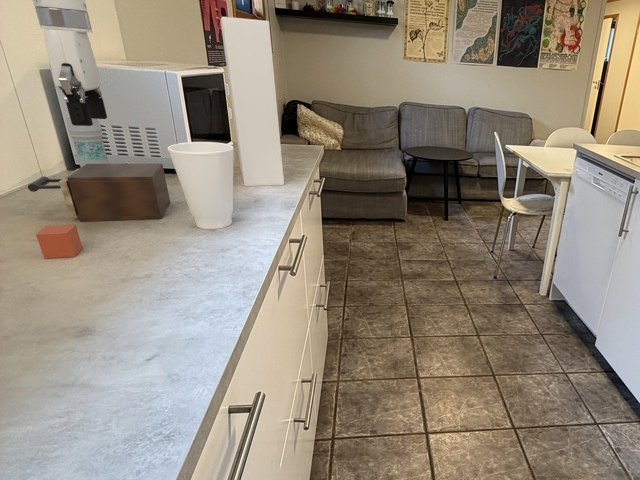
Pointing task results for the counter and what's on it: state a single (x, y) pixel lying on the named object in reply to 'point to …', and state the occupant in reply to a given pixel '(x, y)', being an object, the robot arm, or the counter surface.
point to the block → (59, 241)
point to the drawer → (64, 185)
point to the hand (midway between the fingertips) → (90, 121)
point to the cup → (206, 181)
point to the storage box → (253, 99)
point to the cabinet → (119, 192)
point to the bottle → (88, 143)
